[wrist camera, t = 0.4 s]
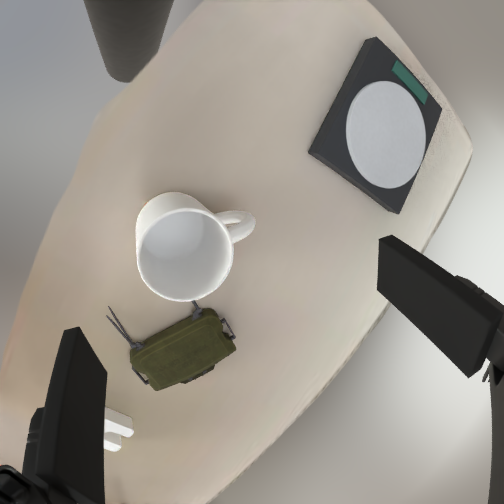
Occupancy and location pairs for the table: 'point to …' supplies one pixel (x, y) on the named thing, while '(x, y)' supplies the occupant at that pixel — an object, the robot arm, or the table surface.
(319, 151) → the scale
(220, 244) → the mug
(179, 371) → the landmine
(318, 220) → the table surface
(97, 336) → the table surface
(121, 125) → the table surface
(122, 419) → the slotted bracket
